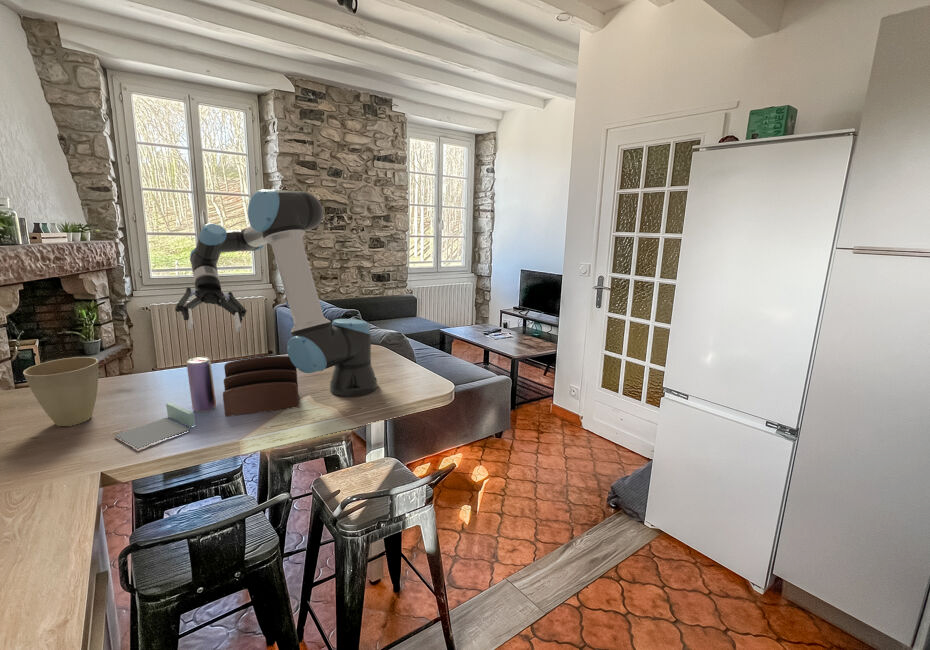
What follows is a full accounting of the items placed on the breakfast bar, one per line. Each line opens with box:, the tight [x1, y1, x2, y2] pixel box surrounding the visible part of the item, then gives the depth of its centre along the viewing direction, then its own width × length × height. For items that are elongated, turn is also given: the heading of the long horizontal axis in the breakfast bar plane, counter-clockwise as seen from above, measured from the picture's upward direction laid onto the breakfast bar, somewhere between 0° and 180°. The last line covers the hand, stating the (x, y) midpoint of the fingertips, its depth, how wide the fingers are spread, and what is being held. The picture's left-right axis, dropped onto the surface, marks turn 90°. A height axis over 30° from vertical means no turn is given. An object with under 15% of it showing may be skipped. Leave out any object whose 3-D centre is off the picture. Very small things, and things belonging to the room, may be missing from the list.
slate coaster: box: [114, 417, 190, 449], centre depth 116 cm, size 12×12×1 cm
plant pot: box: [22, 356, 99, 427], centre depth 121 cm, size 15×15×16 cm
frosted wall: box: [165, 401, 196, 428], centre depth 123 cm, size 12×1×4 cm, turn 58°
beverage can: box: [186, 356, 217, 413], centre depth 130 cm, size 6×6×15 cm
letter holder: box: [222, 355, 300, 417], centre depth 133 cm, size 10×20×14 cm, turn 111°
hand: (215, 328), depth 142 cm, fingers open, 13 cm apart
